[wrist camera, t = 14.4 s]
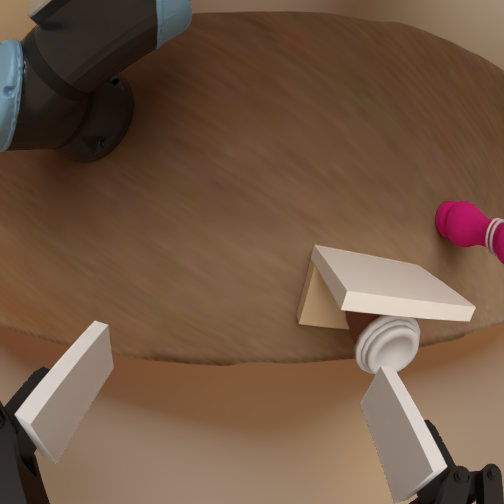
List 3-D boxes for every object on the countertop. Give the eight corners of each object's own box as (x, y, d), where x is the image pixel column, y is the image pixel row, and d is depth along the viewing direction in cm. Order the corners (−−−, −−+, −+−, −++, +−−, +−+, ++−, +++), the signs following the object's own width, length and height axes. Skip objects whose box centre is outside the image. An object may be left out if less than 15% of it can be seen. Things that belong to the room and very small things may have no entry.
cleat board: (314, 244, 39) (347, 290, 24) (417, 264, 40) (475, 307, 25) (296, 314, 43) (313, 383, 27) (395, 324, 43) (438, 380, 28)
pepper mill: (460, 237, 39) (539, 277, 19) (431, 240, 39) (514, 285, 20) (462, 197, 36) (548, 221, 17) (433, 197, 37) (524, 222, 18)
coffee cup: (357, 342, 41) (382, 392, 29) (323, 310, 39) (344, 361, 28) (399, 305, 39) (436, 346, 27) (369, 268, 37) (407, 306, 26)
